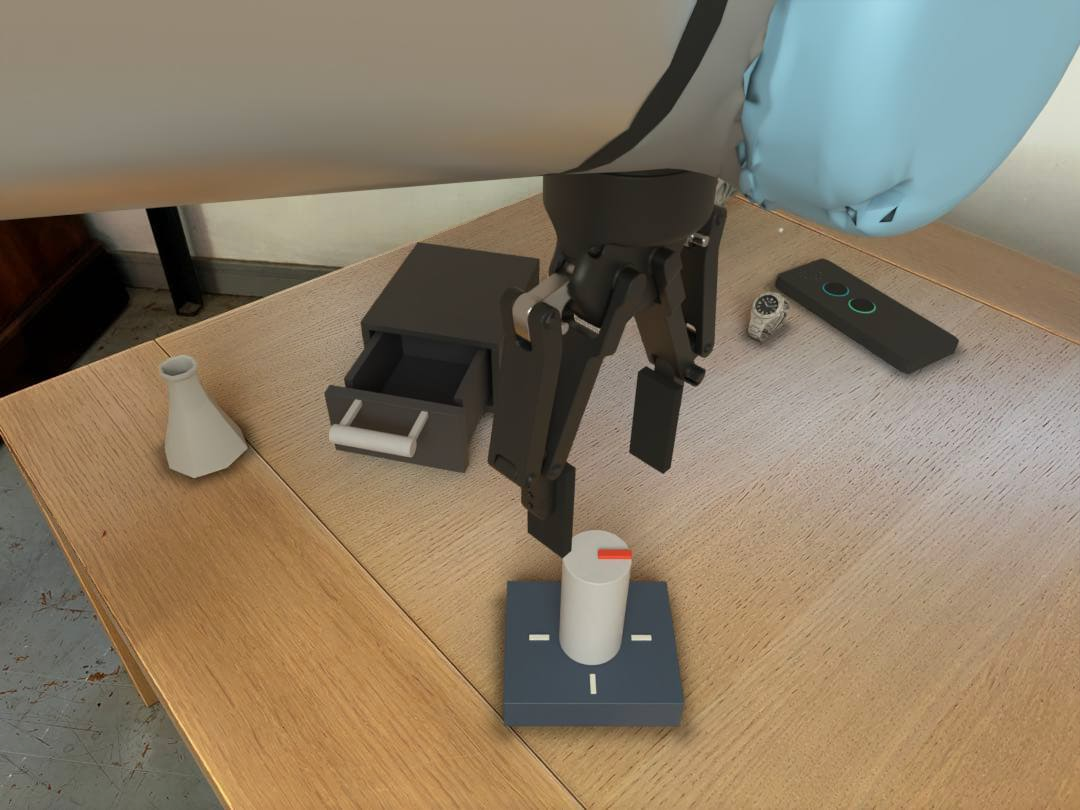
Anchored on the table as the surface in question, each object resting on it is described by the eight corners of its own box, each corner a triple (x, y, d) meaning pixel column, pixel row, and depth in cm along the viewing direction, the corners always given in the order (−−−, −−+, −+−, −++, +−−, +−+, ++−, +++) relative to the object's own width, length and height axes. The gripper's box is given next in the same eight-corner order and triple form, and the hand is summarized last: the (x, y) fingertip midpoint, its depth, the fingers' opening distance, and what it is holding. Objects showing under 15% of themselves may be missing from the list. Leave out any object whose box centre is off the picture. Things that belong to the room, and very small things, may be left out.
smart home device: (825, 255, 101) (963, 338, 88) (821, 268, 103) (957, 351, 90) (774, 273, 98) (910, 362, 85) (771, 286, 99) (905, 375, 86)
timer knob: (559, 665, 57) (563, 581, 51) (558, 611, 60) (561, 526, 54) (624, 665, 57) (635, 581, 51) (619, 611, 60) (629, 526, 54)
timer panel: (503, 726, 56) (503, 702, 54) (507, 604, 64) (507, 579, 62) (679, 726, 57) (685, 702, 55) (662, 605, 64) (666, 579, 62)
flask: (262, 450, 77) (238, 365, 70) (190, 490, 73) (157, 404, 66) (221, 414, 81) (194, 330, 74) (151, 451, 77) (116, 365, 70)
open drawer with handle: (446, 514, 70) (441, 453, 65) (311, 488, 72) (296, 426, 67) (508, 375, 84) (507, 316, 80) (394, 357, 86) (386, 298, 82)
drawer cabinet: (501, 414, 81) (499, 343, 75) (371, 392, 83) (359, 321, 78) (539, 325, 93) (539, 258, 87) (424, 308, 95) (417, 241, 89)
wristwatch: (738, 337, 91) (746, 299, 88) (768, 314, 95) (777, 277, 91) (766, 351, 89) (775, 312, 86) (795, 327, 93) (805, 289, 90)
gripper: (517, 248, 27) (520, 649, 41) (841, 83, 38) (754, 441, 53) (372, 175, 30) (423, 565, 45) (707, 46, 42) (660, 389, 57)
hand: (602, 498), depth 49 cm, fingers open, 8 cm apart
